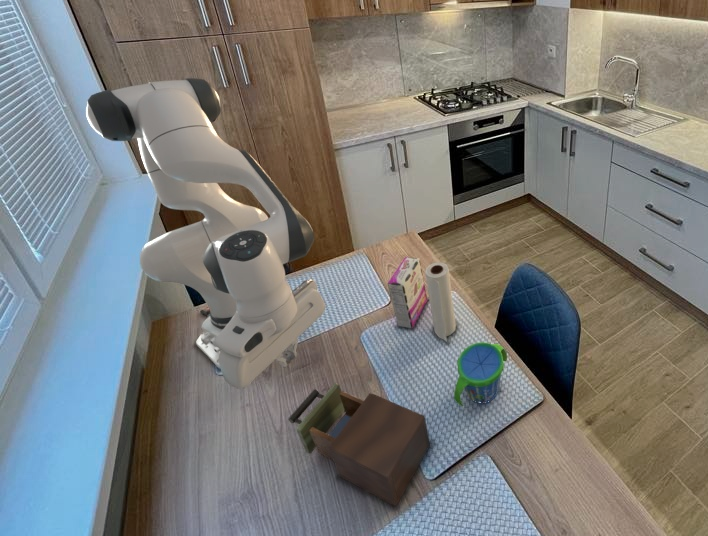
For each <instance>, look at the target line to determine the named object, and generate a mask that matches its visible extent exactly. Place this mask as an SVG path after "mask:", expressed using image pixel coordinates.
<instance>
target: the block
mask: <svg viewBox="0 0 708 536" xmlns="http://www.w3.org/2000/svg"><path fill="white" fill-rule="evenodd" d="M341 418H342V419H341ZM341 418H340V419H341V420H340V419H339V421H338V422H337V423H338V424H337V423H336V424H337V425H336V424H335V426H334V427H333V428H334V429H332V430H331V431H330V432H329V433H330V434H328V435H329V436H331V437H333V438H336V437H337V436H338V434H339V433H340V432H341V430H342V429H343V428H344V426H345V425H346V424H347V422H348V421H349V420H350V419H351V417H349V416H347V415H344V414H343V415H342V417H341Z"/></svg>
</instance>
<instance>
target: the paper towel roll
mask: <svg viewBox="0 0 708 536" xmlns="http://www.w3.org/2000/svg"><path fill="white" fill-rule="evenodd" d="M424 274H425V280H426V281H425V282H426V286H427V293H428V300H429V305H430V312H431V319H432V323H433V324H432V326H433V330H434V331H433V332H434V333H435V334H436V336H437V337H438V338H439V339H441V340H443V341H444V342H446V343H448V338H447V337H449V336H450V335H451V336H452V334H453V333H454V332H455V331H456V329H457V325H456V324H457V323H456V317H455V310H454V309H455V308H454V301H453V293H452V285H451V284H452V283H451V277H450V270H449V266H448V265H447V263H445V262H441V261H437V262H433V263H430V264H429V265H428V266H426V268H425V270H424Z"/></svg>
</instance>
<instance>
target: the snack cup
mask: <svg viewBox="0 0 708 536" xmlns="http://www.w3.org/2000/svg"><path fill="white" fill-rule="evenodd" d="M507 361H508V354H507V350H506V348H504V347H503V346H502V345H500V344H499V343H493V344H492V343H489V342H476V343H473V344H470V345H469V346H467V347H466V348H464V349H463V350H462V352H461V353H460V355H459V357H458V358H457V372H458V379H457V380H456V383H455V387H454V392H453V400H454V401H455V402H456V403H457V404H458V405H459V406H460V407H464V404H463V402H462V399H461V395H462V393H463V391H464V389H465V390H466V393H467V396H468V397H469V399H470V400H471V401H472V402H474V403H476V404H482V405H483V404H484V403H483V402H486V403H485V404H490V402H491V401H494V400H495V398H496V396H497V395H498V394H499V389H500V385H501V378H502V373H503V371H504V368H505V364H504V362H507ZM473 400H474V401H473ZM490 400H491V401H490ZM475 401H476V402H475ZM488 401H489V402H488ZM478 402H481V403H478Z"/></svg>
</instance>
